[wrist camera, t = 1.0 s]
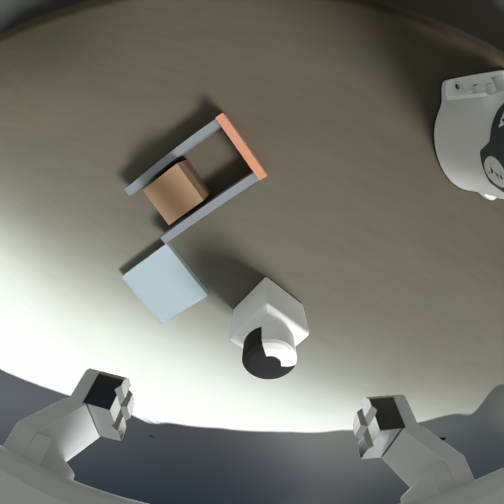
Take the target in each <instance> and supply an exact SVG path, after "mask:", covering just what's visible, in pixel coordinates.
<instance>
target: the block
mask: <svg viewBox="0 0 504 504" xmlns="http://www.w3.org/2000/svg"><path fill="white" fill-rule="evenodd" d="M143 191H144V192H145V194H146V195H147V196H148V198H149V199H150V200H151V202H152V203H153V205H154V206H155V207H156V209H157V210H158V211H159V213H160V214H161V215H162V217H163V218H164V219H165V221H166V222H167V223H168V225H170V224H171V223H173V222H174V221H176V220H177V219H178V218H180V217H181V216H182V215H184V214H185V213H187V212H188V211H189V210H191V209H192V208H194V207H195V206H196V205H198V204H199V203H201V202H202V201H203V200H204V199H205V198H206V197H207V196H208V195H209V193H210V192H211V191H210V190H209V189H208V187H207V186H206V184H205V183H204V182H203V180H202V179H201V177H200V176H199V175H198V173H197V172H196V171H195V169H194V168H193V166H192V165H191V164H190V162H189V161H188V159H187V160H184V161H182V162H179V163H177V164H175V165H174V166H173V167H171V168H170V169H169V170H168V171H166V172H165V173H164V174H162V175H161V176H160V177H159V178H157V179H156V180H155V181H154V182H152V183H151V184H150V185H149V186H148V187H146V188H145V189H144V190H143Z"/></svg>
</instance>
